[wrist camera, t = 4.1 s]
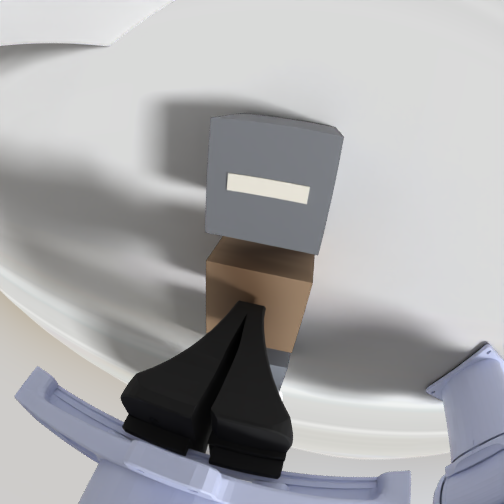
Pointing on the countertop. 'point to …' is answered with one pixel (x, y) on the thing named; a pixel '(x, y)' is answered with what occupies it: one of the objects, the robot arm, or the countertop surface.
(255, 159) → the charcoal block
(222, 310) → the walnut block
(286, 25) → the countertop surface
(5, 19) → the milk
